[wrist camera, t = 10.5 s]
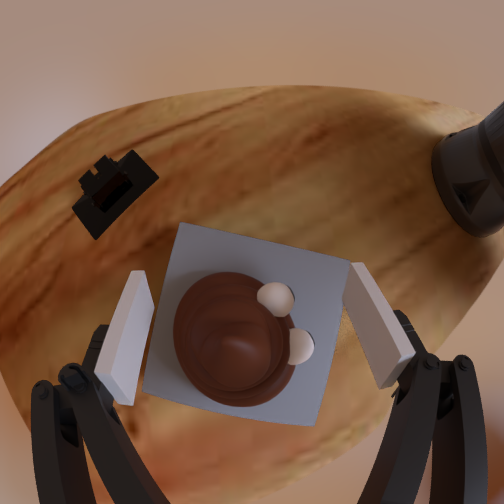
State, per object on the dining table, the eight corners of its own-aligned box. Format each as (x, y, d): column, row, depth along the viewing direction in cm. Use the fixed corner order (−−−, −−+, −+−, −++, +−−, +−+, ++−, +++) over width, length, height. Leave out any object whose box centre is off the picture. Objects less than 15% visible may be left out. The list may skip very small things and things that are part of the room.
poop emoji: (159, 298, 20) (107, 287, 11) (262, 255, 21) (284, 214, 12) (213, 415, 18) (200, 479, 9) (314, 372, 20) (368, 409, 11)
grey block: (334, 268, 26) (350, 260, 22) (303, 411, 23) (314, 426, 19) (188, 235, 25) (180, 221, 22) (155, 380, 22) (141, 391, 18)
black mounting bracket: (140, 140, 28) (129, 115, 24) (179, 176, 27) (171, 153, 23) (62, 214, 26) (40, 199, 21) (93, 259, 25) (70, 249, 20)
